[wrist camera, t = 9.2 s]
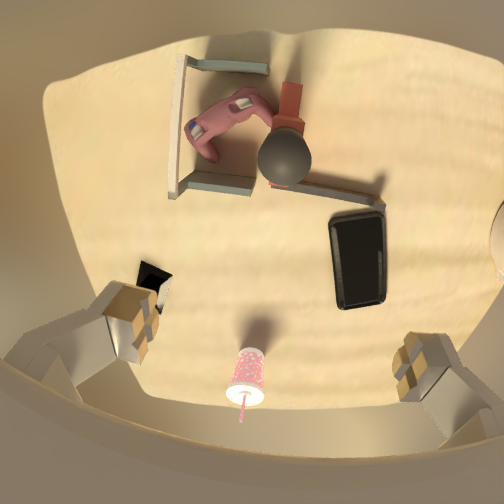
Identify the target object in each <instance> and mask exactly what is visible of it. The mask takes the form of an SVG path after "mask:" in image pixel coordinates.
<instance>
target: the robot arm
mask: <svg viewBox="0 0 504 504" xmlns="http://www.w3.org/2000/svg"><path fill="white" fill-rule="evenodd" d="M490 252H491V256H492V258H493V261H494V263H495V276H496V278H497V279H498V280H499V281H504V204H503V205H502V206H501V208H500V210H499V212H498V213H497V216H496V218H495V220H494V223H493V226H492V230H491V235H490ZM157 302H158V299H157V293H156V292H155V291H154V290H150V289H146V288H142V287H138V286H134V285H131V284H126V283H122V282H118V281H115V280H114V281H111V282H110V283H109V284H108V285H107V286H106V287H105V288H104V290H103V291H102V292H101V293H100V294H99V296H98V297H97V298H96V299H95V300H94V302H93V303H92V304H91V305H90V307H89V308H88V309H87V310H85V309H81V310H79V311H77V312H75V313H72V314H69V315H67V316H65V317H62V318H60V319H57V320H55V321H53V322H50V323H48V324H46V325H43V326H41V327H38V328H36V329H34V330H31V331H29V332H26V333H24V334H23V336H22V337H21V338H20V339H19V340H18V341H17V343H16V344H15V345H14V346H13V348H12V349H11V350H10V351H9V353H8V354H7V355H6V356H5V358H4V359H3V360H2V359H1V358H0V504H504V401H503V400H502V399H501V398H500V397H499V396H498V395H496V394H495V393H494V392H493V391H492V390H491V389H490V388H489V387H488V386H487V385H486V384H485V383H483V382H482V381H481V380H480V379H479V378H478V377H477V376H476V375H474V374H473V373H472V372H471V371H470V370H469V369H468V368H467V367H463V365H462V363H461V361H460V359H459V357H458V355H457V352H456V350H455V348H454V346H453V344H452V342H451V340H450V338H449V336H448V335H447V334H445V333H423V332H411V331H410V332H409V333H408V334H407V335H406V337H405V338H404V346H402V347H401V348H399V349H398V350H397V352H396V354H395V356H394V359H393V363H392V370H393V375H394V377H395V378H396V379H397V380H398V381H399V382H398V384H397V386H396V387H397V391H398V395H399V399H400V402H420V404H421V405H422V406H423V408H424V409H425V410H426V411H427V413H428V414H429V416H430V417H431V418H432V420H433V421H434V422H435V424H436V425H437V426H438V428H439V429H440V430H441V432H442V433H443V434H444V436H445V437H446V438H447V440H446V441H445V442H444V443H443V444H441V445H440V446H439V447H438V449H437V450H434V451H428V452H422V453H413V454H404V455H393V456H380V457H356V458H330V457H304V456H290V455H279V454H270V453H262V452H255V451H248V450H241V449H235V448H229V447H223V446H218V445H214V444H209V443H204V442H200V441H195V440H191V439H187V438H183V437H179V436H175V435H171V434H168V433H165V432H161V431H158V430H154V429H151V428H148V427H145V426H142V425H138V424H136V423H133V422H130V421H127V420H124V419H121V418H119V417H116V416H113V415H111V414H108V413H106V412H103V411H101V410H98V409H96V408H93V407H91V406H89V405H86V404H84V403H83V402H82V398H81V397H80V395H79V393H78V391H77V390H76V388H75V387H76V386H77V385H79V384H80V383H82V382H83V381H85V380H86V379H88V378H89V377H91V376H92V375H94V374H95V373H97V372H98V371H100V370H101V369H103V368H104V367H106V366H107V365H109V364H110V363H112V362H113V361H115V360H116V358H119V359H122V360H125V361H129V362H132V363H136V364H140V365H141V363H142V361H143V359H144V357H145V355H146V353H147V351H148V345H147V343H148V342H150V341H152V340H153V339H154V337H155V335H156V333H157V329H158V325H159V312H158V311H157V309H156V308H155V305H156V304H157Z"/></svg>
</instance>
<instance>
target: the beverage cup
mask: <svg viewBox="0 0 504 504" xmlns="http://www.w3.org/2000/svg"><path fill="white" fill-rule="evenodd" d="M263 372H264V355H263V353H262V352H261V351H260V350H258V349H256V348H251V347H249V348H244V349H242V350H241V351H240V352H239V354H238V358H237V361H236V365H235V368H234V372H233V375H232V379H231V382H230V385H229V386H228V387H227V391H226V395H227V397H228V398H229V399H230V400H231V401H233V402H235V403H237V404H240V405H242V407H241V414H240V420H239V422H242V420H243V414H244V408H245V405H256V404H259V403H260V402H262V401H263V399H264V391H263Z"/></svg>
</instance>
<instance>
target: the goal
mask: <svg viewBox="0 0 504 504" xmlns="http://www.w3.org/2000/svg"><path fill="white" fill-rule="evenodd" d="M187 66H189V67H192V68H195V69H198V70H201V71H220V72H237V73H249V74H259V75H268V76H269V72H270V69H269V67H268V65H267V64H265V63H255V62H243V61H227V60H197V59H195V58H193V57H190V56H188V55H185V54H180V55H177V59H176V68H175V77H174V87H173V99H172V111H171V126H170V144H169V170H168V199H173V200H176V199H177V198H178V197H179V196H180V195H181V194H182V193H183V192H184V191H185V190H186V189H196V190H205V191H213V192H221V193H228V194H236V195H243V196H250V197H251V194H252V191H253V189H254V186H255V182H256V178H250V177H242V176H234V175H226V174H218V173H209V172H200V171H193V172H192V173H190V174H189V175H188V176H187V177H185V178H184V179H183V180H182V181H180V182H179V183H178V176H179V153H180V136H181V121H182V108H183V97H184V86H185V76H186V67H187Z"/></svg>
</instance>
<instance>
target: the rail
mask: <svg viewBox="0 0 504 504" xmlns="http://www.w3.org/2000/svg"><path fill="white" fill-rule="evenodd" d="M271 188H275V189H282V190H288V191H294V192H300V193H306V194H312V195H318V196H323V197H329V198H334V199H339V200H344V201H350V202H355V203H360V204H364V205H369V206H370V207H371V209H372V210H376V211H381V212H384V211H385V207H386V204H385V203H384V201H383V200H382V199H381V198H380V197H378V196H374V195H369V194H364V193H360V192H355V191H350V190H345V189H340V188H335V187H329V186H324V185H319V184H313V183H307V182H301V181H300V182H298V183H296V184H293V185H289V186H288V187H282V186H275V185H271Z"/></svg>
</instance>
